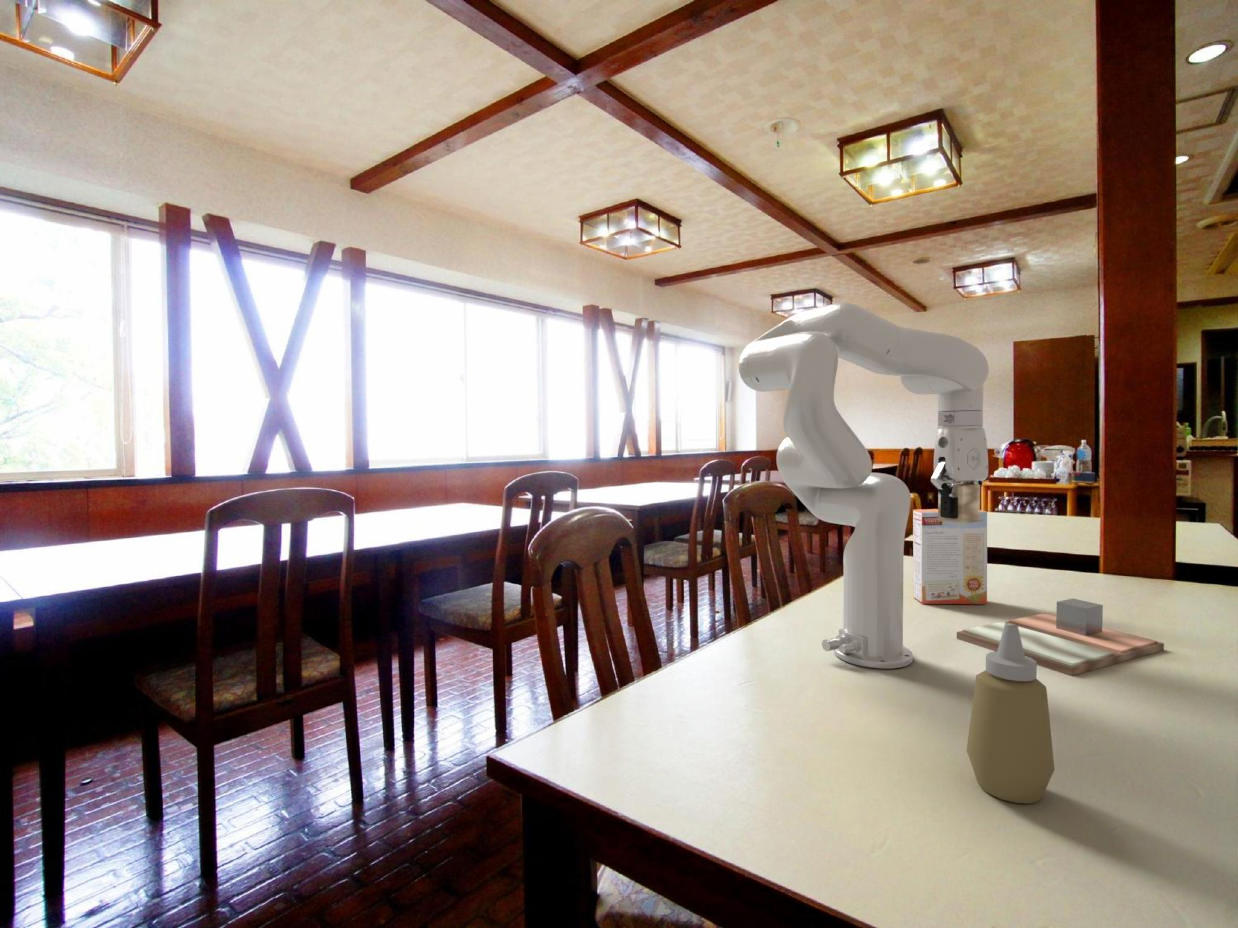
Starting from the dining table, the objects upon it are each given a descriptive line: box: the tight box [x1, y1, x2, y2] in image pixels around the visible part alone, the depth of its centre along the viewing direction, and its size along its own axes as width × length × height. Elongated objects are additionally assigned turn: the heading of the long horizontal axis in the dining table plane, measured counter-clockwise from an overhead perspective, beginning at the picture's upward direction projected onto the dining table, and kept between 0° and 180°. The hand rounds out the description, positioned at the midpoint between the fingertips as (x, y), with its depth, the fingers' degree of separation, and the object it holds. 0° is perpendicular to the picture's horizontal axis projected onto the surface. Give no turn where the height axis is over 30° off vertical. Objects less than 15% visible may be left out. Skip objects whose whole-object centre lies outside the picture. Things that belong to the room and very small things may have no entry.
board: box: [956, 612, 1165, 677], centre depth 112 cm, size 26×20×2 cm
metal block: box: [1055, 598, 1104, 636], centre depth 114 cm, size 5×5×5 cm
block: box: [937, 482, 981, 524], centre depth 119 cm, size 5×5×7 cm
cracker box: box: [912, 508, 988, 605], centre depth 140 cm, size 14×6×21 cm, turn 84°
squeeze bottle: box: [966, 623, 1055, 805], centre depth 67 cm, size 8×8×18 cm
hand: (958, 515), depth 119 cm, fingers closed on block, 5 cm apart
